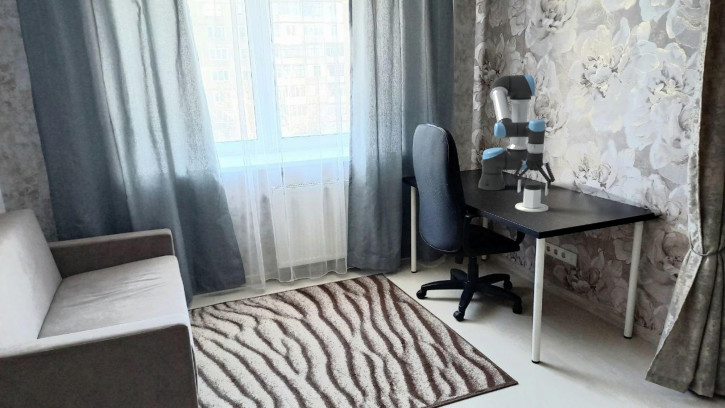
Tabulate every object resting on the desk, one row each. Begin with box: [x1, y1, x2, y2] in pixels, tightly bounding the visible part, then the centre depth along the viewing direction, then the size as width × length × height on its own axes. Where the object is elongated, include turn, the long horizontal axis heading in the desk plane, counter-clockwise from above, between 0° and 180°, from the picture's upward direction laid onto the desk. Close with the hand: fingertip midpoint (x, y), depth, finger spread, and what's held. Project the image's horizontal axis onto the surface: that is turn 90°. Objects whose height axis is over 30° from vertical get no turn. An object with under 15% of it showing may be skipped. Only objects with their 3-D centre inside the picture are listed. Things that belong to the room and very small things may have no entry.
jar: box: [522, 181, 542, 209], centre depth 249 cm, size 9×8×12 cm
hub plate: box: [514, 202, 549, 213], centre depth 250 cm, size 16×16×1 cm
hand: (532, 193), depth 249 cm, fingers open, 13 cm apart
